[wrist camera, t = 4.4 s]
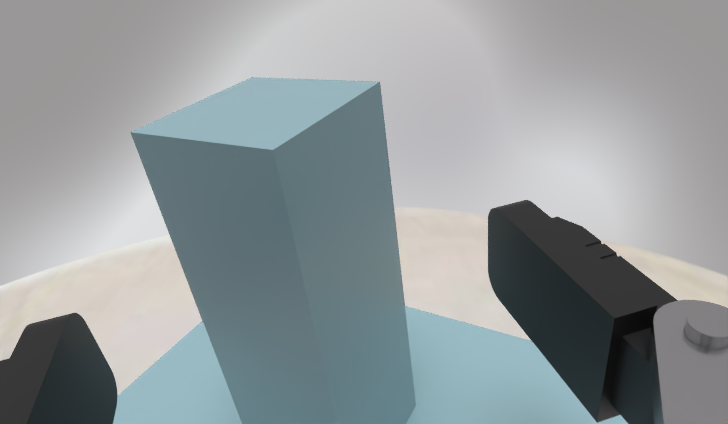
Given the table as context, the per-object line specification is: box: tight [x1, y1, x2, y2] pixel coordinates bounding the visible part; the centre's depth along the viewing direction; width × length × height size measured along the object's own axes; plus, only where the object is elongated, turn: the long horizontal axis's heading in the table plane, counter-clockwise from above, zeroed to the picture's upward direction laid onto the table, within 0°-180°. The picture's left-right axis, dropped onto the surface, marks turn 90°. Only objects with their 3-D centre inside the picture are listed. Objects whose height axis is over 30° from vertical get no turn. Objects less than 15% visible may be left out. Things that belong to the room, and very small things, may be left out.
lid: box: [113, 77, 628, 424], centre depth 13 cm, size 15×11×11 cm
